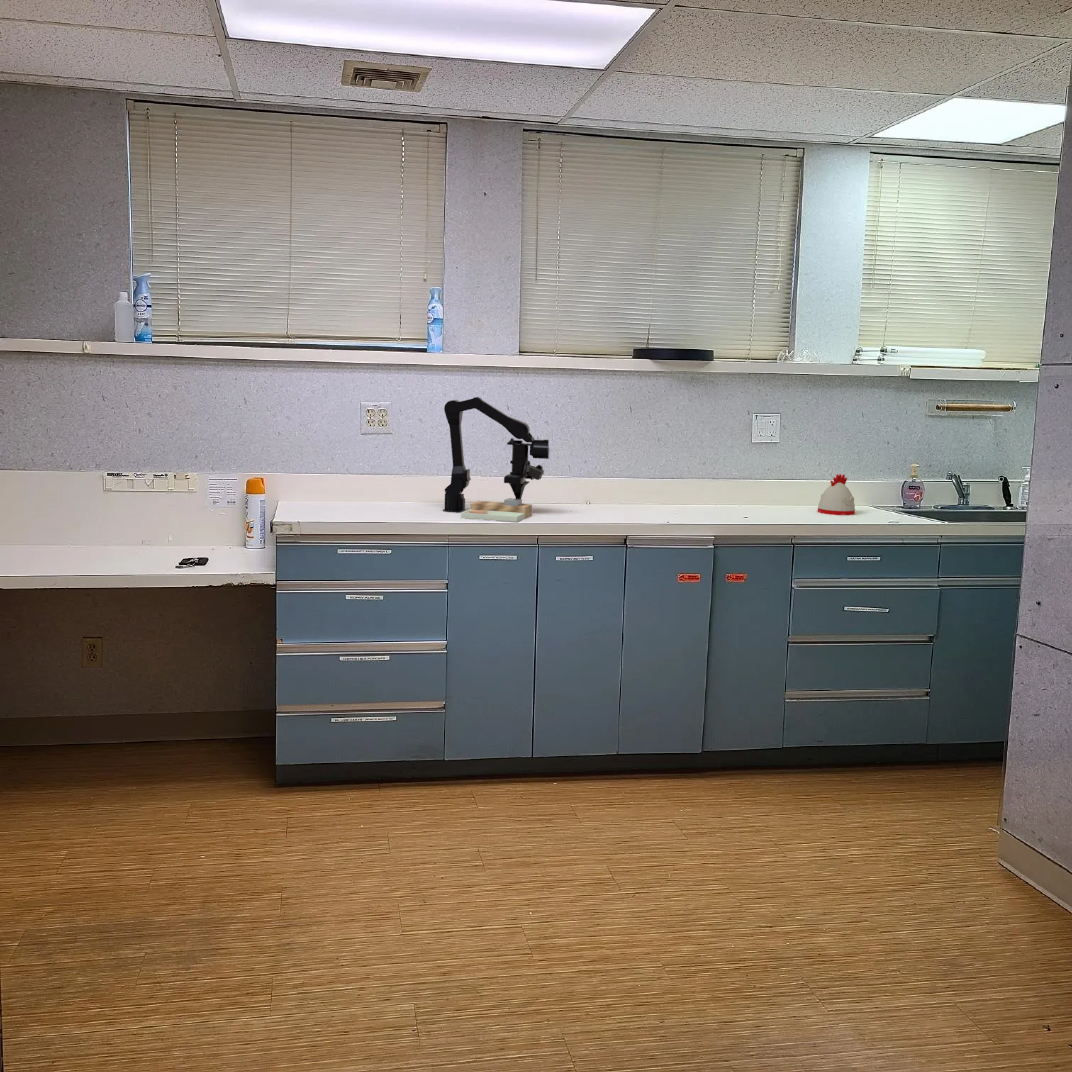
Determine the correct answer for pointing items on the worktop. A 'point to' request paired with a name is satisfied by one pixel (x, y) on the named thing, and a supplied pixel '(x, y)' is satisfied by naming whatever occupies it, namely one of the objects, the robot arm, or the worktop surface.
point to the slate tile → (512, 502)
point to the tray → (495, 516)
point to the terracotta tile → (479, 511)
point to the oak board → (502, 507)
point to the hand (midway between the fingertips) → (518, 501)
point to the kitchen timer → (837, 498)
